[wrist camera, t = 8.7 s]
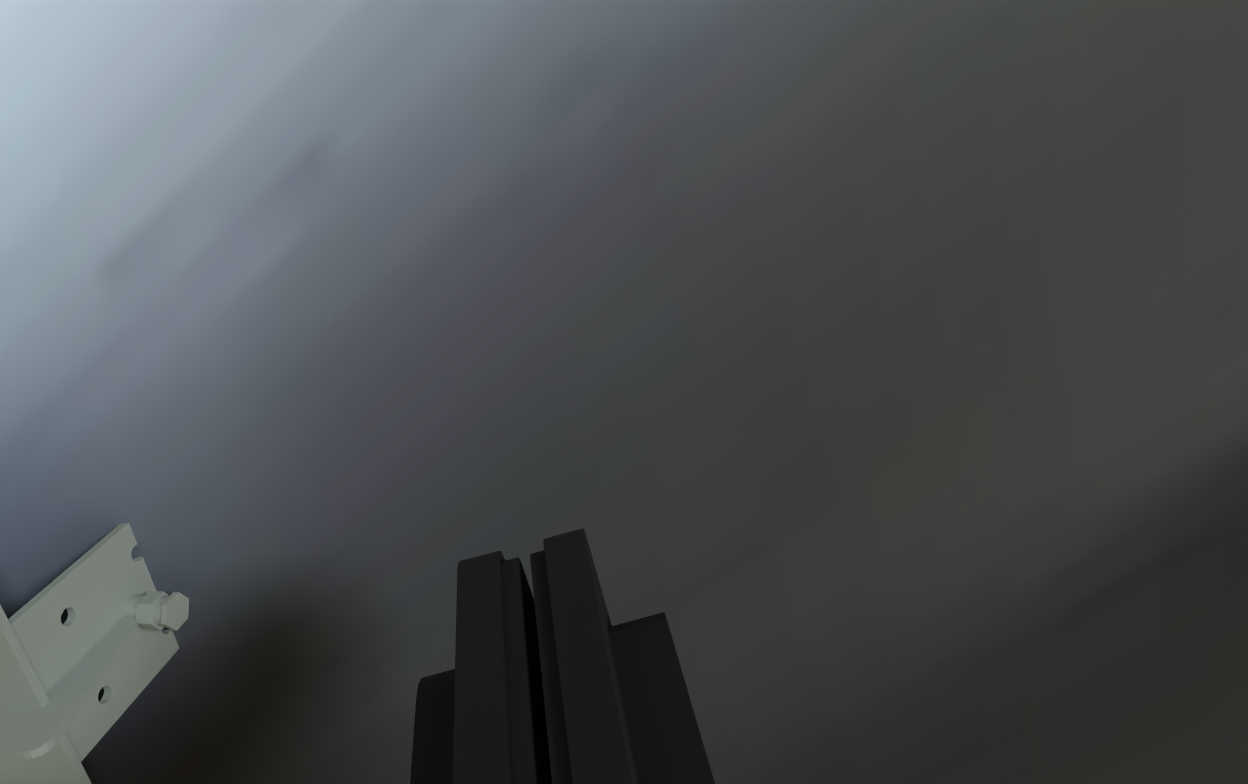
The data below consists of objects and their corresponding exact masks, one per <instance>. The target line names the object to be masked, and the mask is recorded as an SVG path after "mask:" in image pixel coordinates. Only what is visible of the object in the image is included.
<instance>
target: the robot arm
mask: <svg viewBox="0 0 1248 784" xmlns="http://www.w3.org/2000/svg"><path fill="white" fill-rule="evenodd" d="M543 542H544V551H540V552H536V553H532V554H531V555H530V560H531V571H532V581H533V591H534V599H533V596H532V593H531V590H530V587H529V584H528V581H527V578H526V575H525V572H524V569H523V566H522V564H521V561H520V559H519V558H518V557H517V558H514V559H510V560H506V561H505V559H504V556H503V554H502V553H501V551H497V552H493V553H489V554H485V555H482V556H478V557H474V558H470V559H466V560H463V561H459V563H458V569H457V612H456V656H455V669H453V670H449V671H446V672H442V673H438V674H435V675H431V676H427V677H424V678H421V680H420V682H419V684H418V690H417V698H416V711H415V725H414V738H413V752H412V766H411V779H410V784H715V783H714V779H713V776H712V773H711V769H710V766H709V762H708V759H707V755H706V752H705V749H704V745H703V742H702V738H701V735H700V732H699V728H698V725H697V721H696V718H695V715H694V711H693V708H692V704H691V701H690V697H689V694H688V691H687V687H686V684H685V680H684V677H683V674H682V670H681V667H680V663H679V660H678V656H677V653H676V650H675V646H674V643H673V639H672V636H671V633H670V629H669V626H668V623H667V619H666V616H665V613H664V612H663V613H659V614H656V615H652V616H648V617H645V618H641V619H637V620H634V621H630V622H626V623H623V624H619V625H615V626H612V625H611V621H610V618H609V614H608V611H607V607H606V604H605V600H604V597H603V593H602V590H601V586H600V583H599V579H598V576H597V572H596V569H595V565H594V562H593V558H592V555H591V551H590V548H589V544H588V541H587V538H586V534H585V531H584V529H580V530H576V531H572V532H568V533H564V534H561V535H557V536H553V537H549V538H546V539H544V541H543Z"/></svg>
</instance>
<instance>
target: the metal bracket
mask: <svg viewBox="0 0 1248 784" xmlns="http://www.w3.org/2000/svg"><path fill="white" fill-rule="evenodd" d="M136 545H138V544H137V542H136V540H135V537H134V535H133V532H132V530H131V527H130V525H129V523H123V524H119V525H118V526H117V527H116V528H115V529H113V530H112V531H111V532H110V533H109V534H107V535H106V536H105V537H104V538H103V539H102V540H100V541H99V542H98V543H97V544H96V545H95V546H93V547H92V548H91V549H90V550H89V551H88V552H86V553H85V554H84V555H83V556H82V557H80V558H79V559H78V560H77V561H76V562H75V563H73V564H72V565H71V566H70V567H69V568H68V569H66V570H65V571H64V572H63V573H62V574H61V575H59V576H58V577H57V578H56V579H55V580H54V581H52V582H51V583H50V584H49V585H48V586H46V587H45V588H44V589H43V590H42V591H41V592H39V593H38V594H37V595H36V596H35V597H34V598H32V599H31V600H30V601H29V602H28V603H27V604H25V605H24V606H23V607H22V608H21V609H19V610H18V611H17V612H16V613H15V614H14V615H12V616H11V617H10V618H9V619H7V617H6V615H5V613H4V611H3V609H2V607H1V605H0V784H92V783H91V781H90V779H89V777H88V775H87V774H86V772H85V770H84V768H83V766H82V764H81V761H82V760H83V759H84V758H85V757H86V756H87V755H88V753H89V752H90V751H91V750H92V749H93V748H94V746H95V745H96V744H97V743H98V742H99V741H100V739H101V738H102V737H103V736H104V735H105V734H106V733H107V731H108V730H109V729H110V728H111V727H112V726H113V724H114V723H115V722H116V721H117V720H118V719H119V717H120V716H121V715H122V714H123V713H124V712H125V711H126V709H127V708H128V707H129V706H130V705H131V704H132V702H133V701H134V700H135V699H136V698H137V697H138V696H139V694H140V693H141V692H142V691H143V690H144V689H145V687H146V686H147V685H148V684H149V683H150V682H151V680H152V679H153V678H154V677H155V676H156V675H157V674H158V672H159V671H160V670H161V669H162V668H163V667H164V665H165V664H166V663H167V662H168V661H169V660H170V658H171V657H172V656H173V655H174V654H175V653H176V652H177V650H178V649H179V646H178V643H177V641H176V639H175V636H174V634H173V631H172V630H175V631H177V630H178V629H179V628H180V626H181V625H182V624H183V623H184V622H185V621H186V620H187V619H188V613H189V598H187V597H185V596H184V595H182V594H181V593H179V592H173V593H172V594H171V595H168V594H167V593H165V592H162V591H156V589H155V587H154V584H153V582H152V579H151V577H150V574H149V572H148V569H147V567H146V564H145V562H144V559H143V557H138V558H134V559H132V556H131V552H132V549H133V548H134V546H136ZM65 609H67V611H68V617H67V620H66V622H65V623H64V624H63V625H62V623H61V615H62V613H63V611H64V610H65ZM164 627H167V628H169V629H170V630H165V631H163V632H162V629H163V628H164ZM102 687H103V688H104V695H103V697H102V699H101V700H100V701H99V700H98V694H99V691H100V690H101V688H102Z"/></svg>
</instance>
